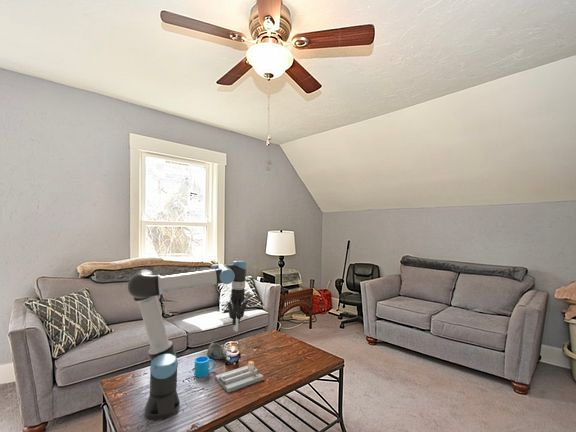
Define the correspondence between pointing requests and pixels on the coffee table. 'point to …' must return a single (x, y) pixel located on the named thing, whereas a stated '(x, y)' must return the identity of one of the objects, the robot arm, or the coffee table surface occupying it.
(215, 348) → the mineral rock
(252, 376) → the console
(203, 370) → the mug
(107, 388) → the coffee table surface
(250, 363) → the fader tab
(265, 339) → the coffee table surface
